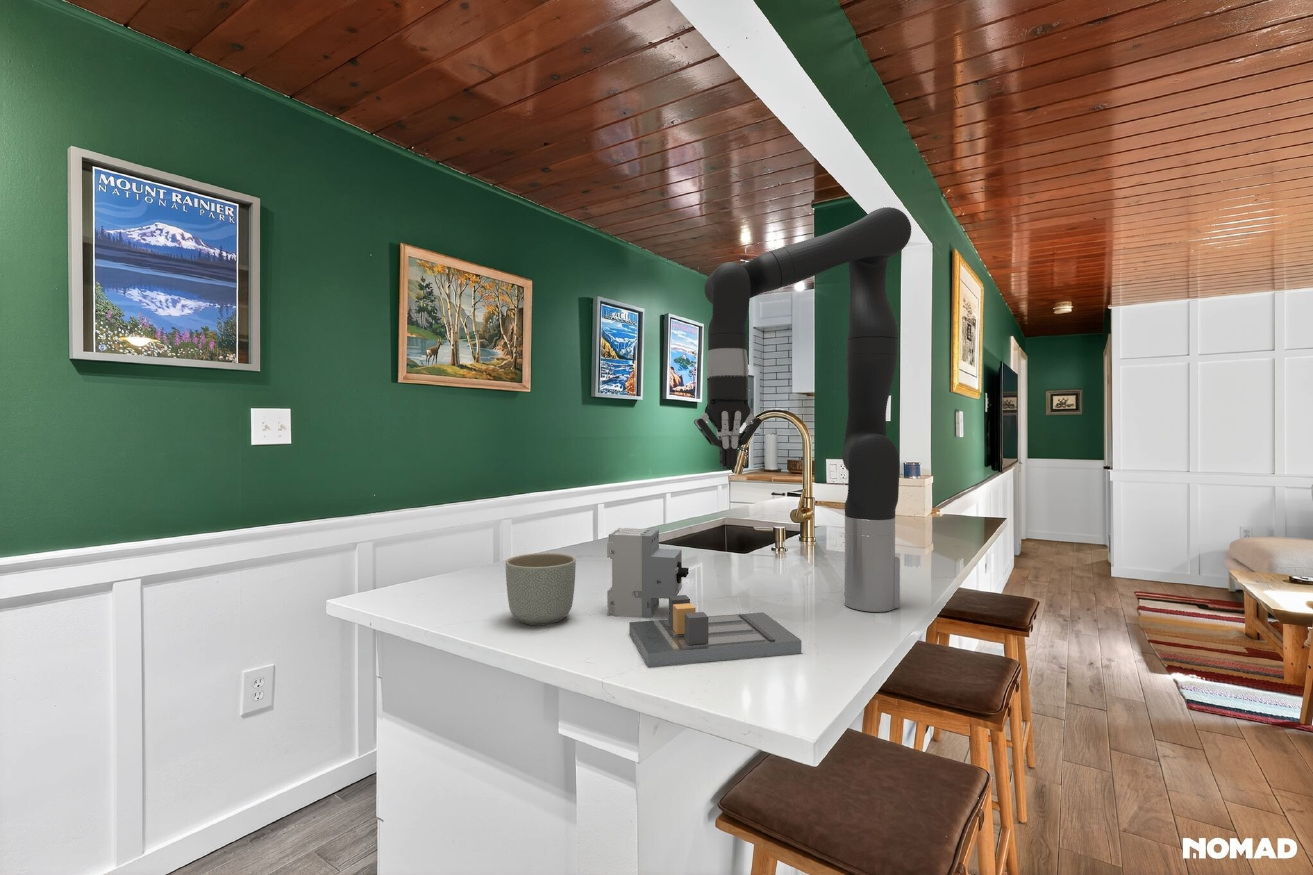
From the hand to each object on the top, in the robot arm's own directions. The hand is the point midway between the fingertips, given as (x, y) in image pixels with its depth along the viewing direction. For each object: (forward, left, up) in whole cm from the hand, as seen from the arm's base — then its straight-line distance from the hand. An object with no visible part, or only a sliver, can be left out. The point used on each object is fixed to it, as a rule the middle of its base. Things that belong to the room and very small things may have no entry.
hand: (728, 469), depth 118 cm
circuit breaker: (+14, -4, -27) cm, 31 cm away
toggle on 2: (+12, +20, -24) cm, 34 cm away
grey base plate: (+8, +15, -27) cm, 32 cm away
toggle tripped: (+13, +15, -25) cm, 31 cm away
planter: (+34, -4, -27) cm, 44 cm away
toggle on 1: (+12, +10, -24) cm, 29 cm away
